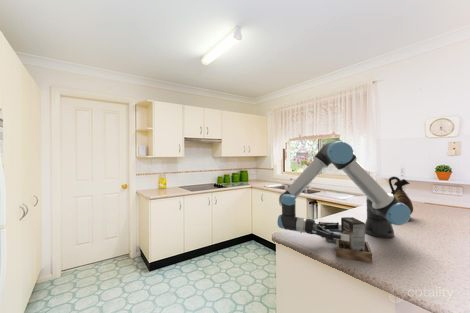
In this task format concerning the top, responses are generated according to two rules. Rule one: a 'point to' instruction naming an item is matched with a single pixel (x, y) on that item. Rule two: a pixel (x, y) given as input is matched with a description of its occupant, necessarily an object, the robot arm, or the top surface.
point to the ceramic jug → (400, 192)
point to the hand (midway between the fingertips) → (351, 233)
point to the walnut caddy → (354, 253)
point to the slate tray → (333, 232)
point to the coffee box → (353, 234)
